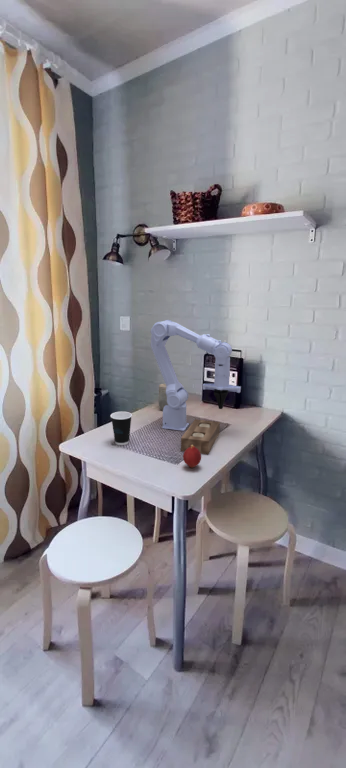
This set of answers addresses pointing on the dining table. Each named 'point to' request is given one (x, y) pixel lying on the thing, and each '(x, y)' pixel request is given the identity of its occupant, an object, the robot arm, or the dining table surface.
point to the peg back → (204, 425)
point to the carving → (162, 396)
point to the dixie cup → (121, 427)
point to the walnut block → (204, 442)
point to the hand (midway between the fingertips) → (220, 408)
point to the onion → (192, 456)
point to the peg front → (198, 435)
